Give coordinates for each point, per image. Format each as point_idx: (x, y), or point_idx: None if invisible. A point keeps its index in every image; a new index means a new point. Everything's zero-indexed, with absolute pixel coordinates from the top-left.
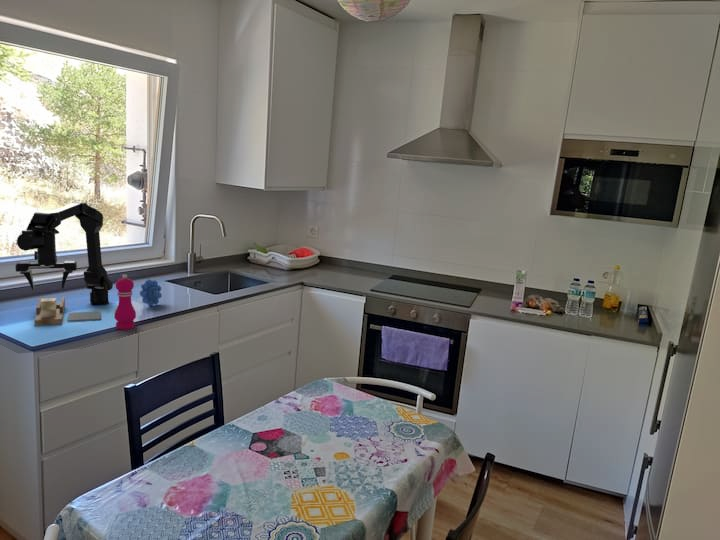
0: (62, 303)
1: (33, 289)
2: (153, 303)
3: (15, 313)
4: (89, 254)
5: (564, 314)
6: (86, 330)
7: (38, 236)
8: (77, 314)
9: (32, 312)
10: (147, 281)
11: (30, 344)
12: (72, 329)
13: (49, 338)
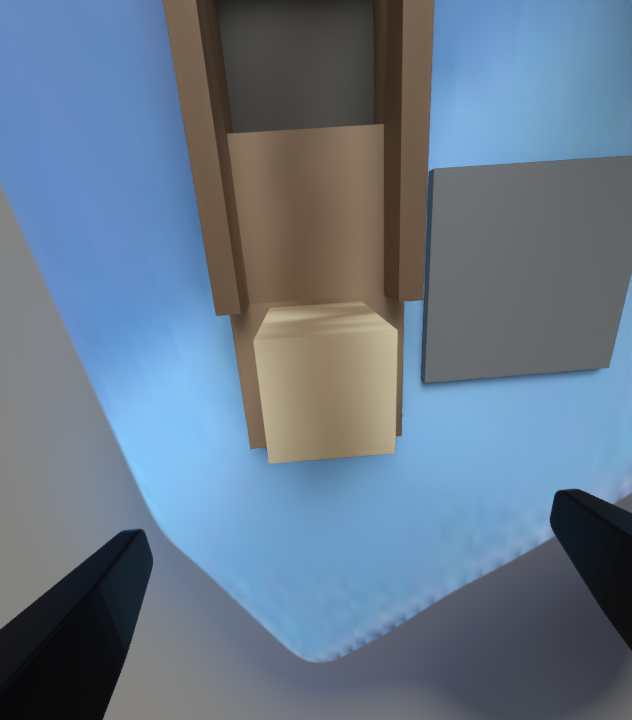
0: (420, 162)
1: (148, 571)
2: None
3: (16, 62)
4: None
5: None
6: (500, 529)
7: None
8: (489, 242)
9: (144, 48)
10: None
11: (297, 655)
12: (442, 509)
13: (354, 607)
